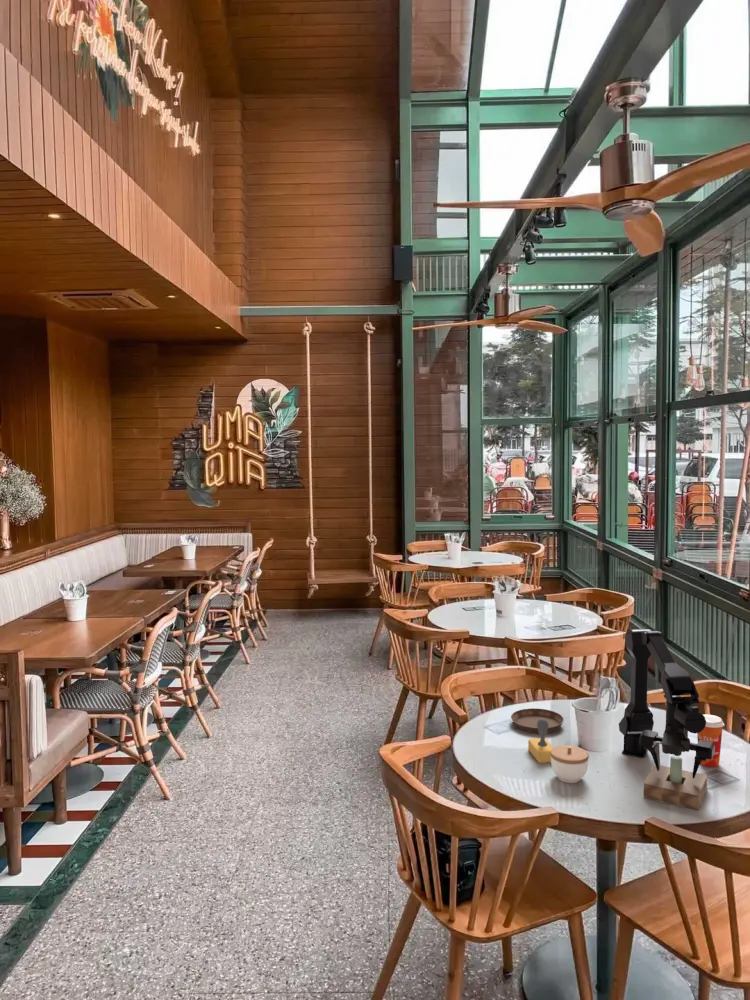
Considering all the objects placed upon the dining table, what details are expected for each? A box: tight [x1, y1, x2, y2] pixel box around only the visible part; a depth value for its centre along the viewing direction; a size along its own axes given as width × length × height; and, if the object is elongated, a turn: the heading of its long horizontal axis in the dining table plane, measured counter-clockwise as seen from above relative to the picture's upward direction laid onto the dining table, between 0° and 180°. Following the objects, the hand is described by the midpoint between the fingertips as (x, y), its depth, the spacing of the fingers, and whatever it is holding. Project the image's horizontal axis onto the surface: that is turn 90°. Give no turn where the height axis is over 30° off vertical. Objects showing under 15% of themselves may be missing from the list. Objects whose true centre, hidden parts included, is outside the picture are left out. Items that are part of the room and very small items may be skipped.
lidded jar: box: [550, 744, 590, 784], centre depth 216 cm, size 11×11×9 cm
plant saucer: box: [510, 707, 565, 734], centre depth 257 cm, size 18×18×3 cm
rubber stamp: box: [527, 718, 555, 764], centre depth 232 cm, size 10×6×12 cm, turn 7°
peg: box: [669, 755, 683, 784], centre depth 206 cm, size 3×3×10 cm
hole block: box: [643, 764, 708, 811], centre depth 206 cm, size 14×14×4 cm
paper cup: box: [696, 713, 725, 768], centre depth 224 cm, size 8×8×14 cm
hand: (675, 773), depth 206 cm, fingers open, 9 cm apart
